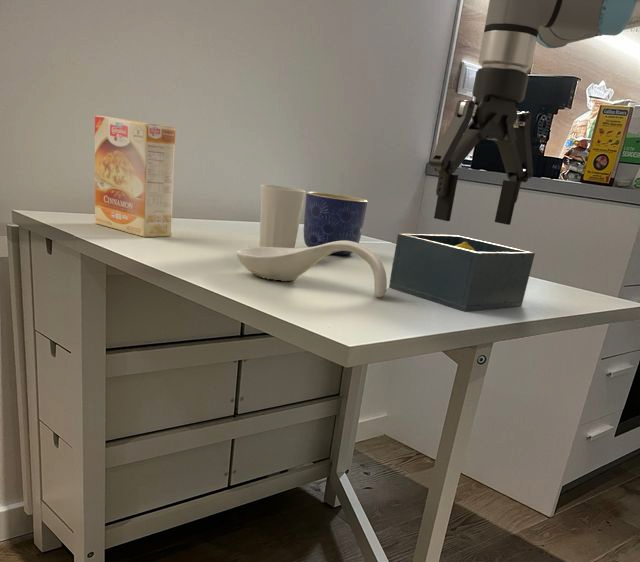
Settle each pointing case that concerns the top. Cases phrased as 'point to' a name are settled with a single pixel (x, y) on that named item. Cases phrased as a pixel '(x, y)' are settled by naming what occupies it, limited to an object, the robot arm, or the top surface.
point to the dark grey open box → (460, 271)
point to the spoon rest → (306, 261)
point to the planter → (333, 219)
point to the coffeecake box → (134, 176)
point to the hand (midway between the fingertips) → (473, 221)
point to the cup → (280, 215)
